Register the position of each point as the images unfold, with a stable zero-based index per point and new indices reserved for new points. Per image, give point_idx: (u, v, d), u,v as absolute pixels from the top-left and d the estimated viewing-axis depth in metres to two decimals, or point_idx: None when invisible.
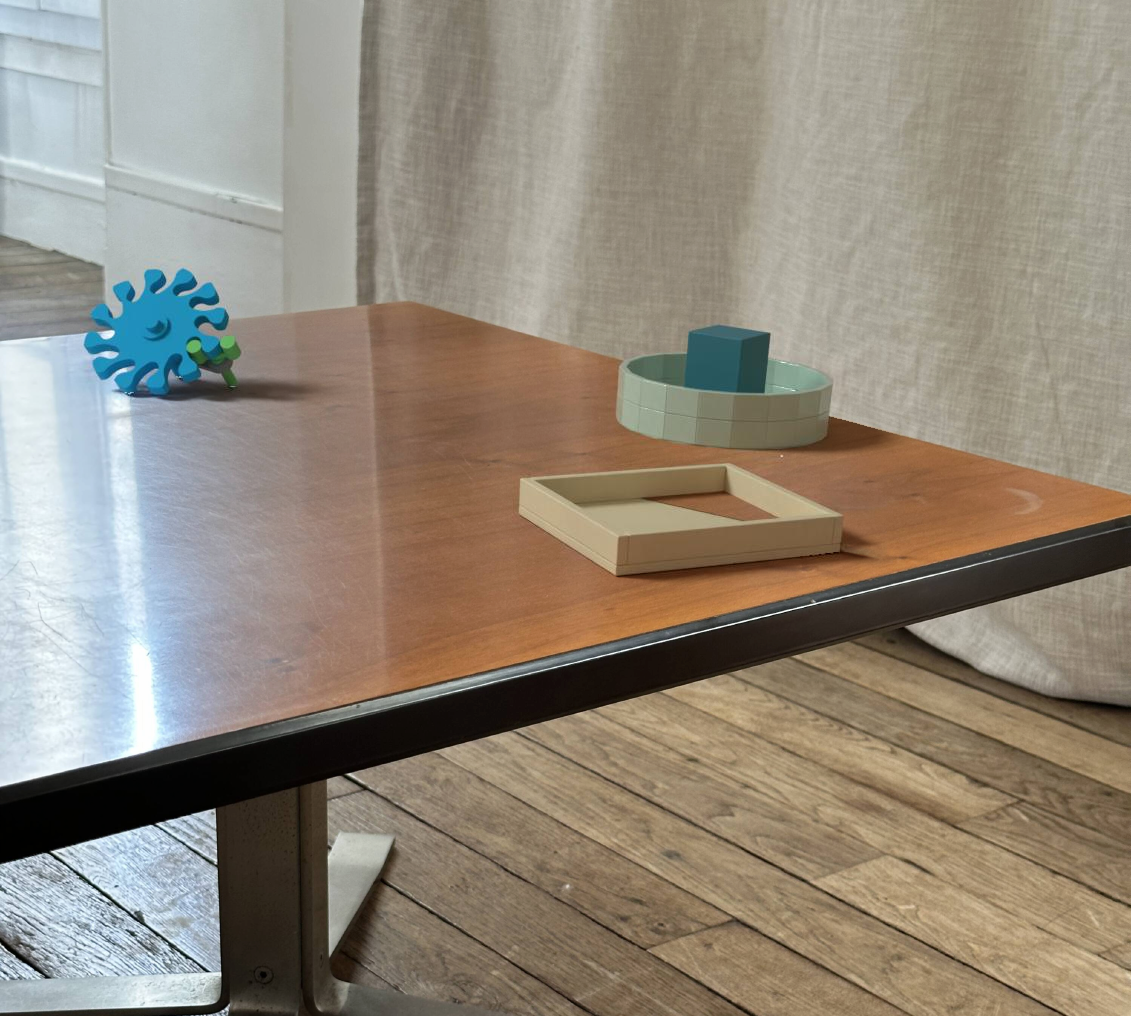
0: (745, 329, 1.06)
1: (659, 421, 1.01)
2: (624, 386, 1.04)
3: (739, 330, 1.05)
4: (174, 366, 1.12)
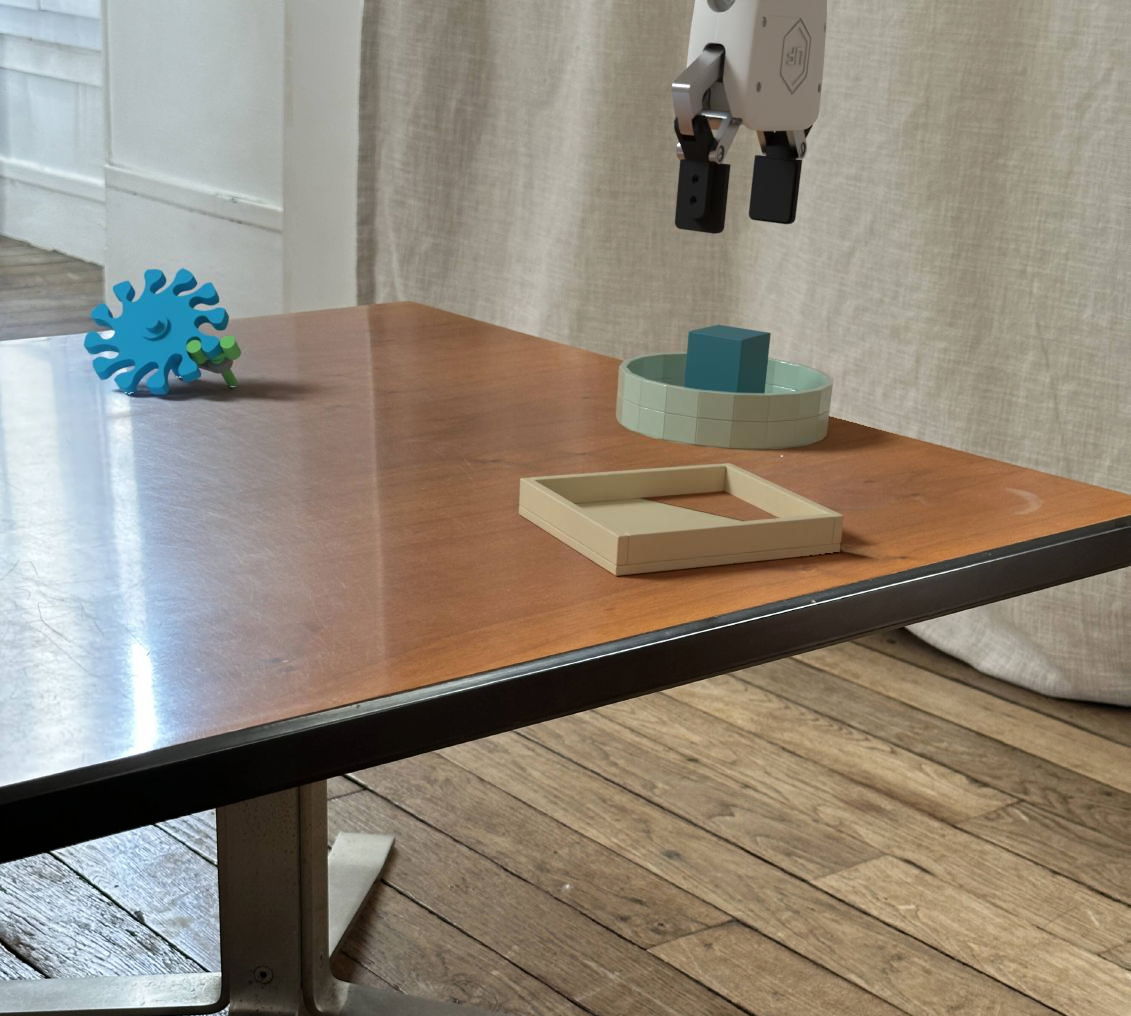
0: (745, 329, 1.06)
1: (659, 421, 1.01)
2: (624, 386, 1.04)
3: (739, 330, 1.05)
4: (174, 366, 1.12)
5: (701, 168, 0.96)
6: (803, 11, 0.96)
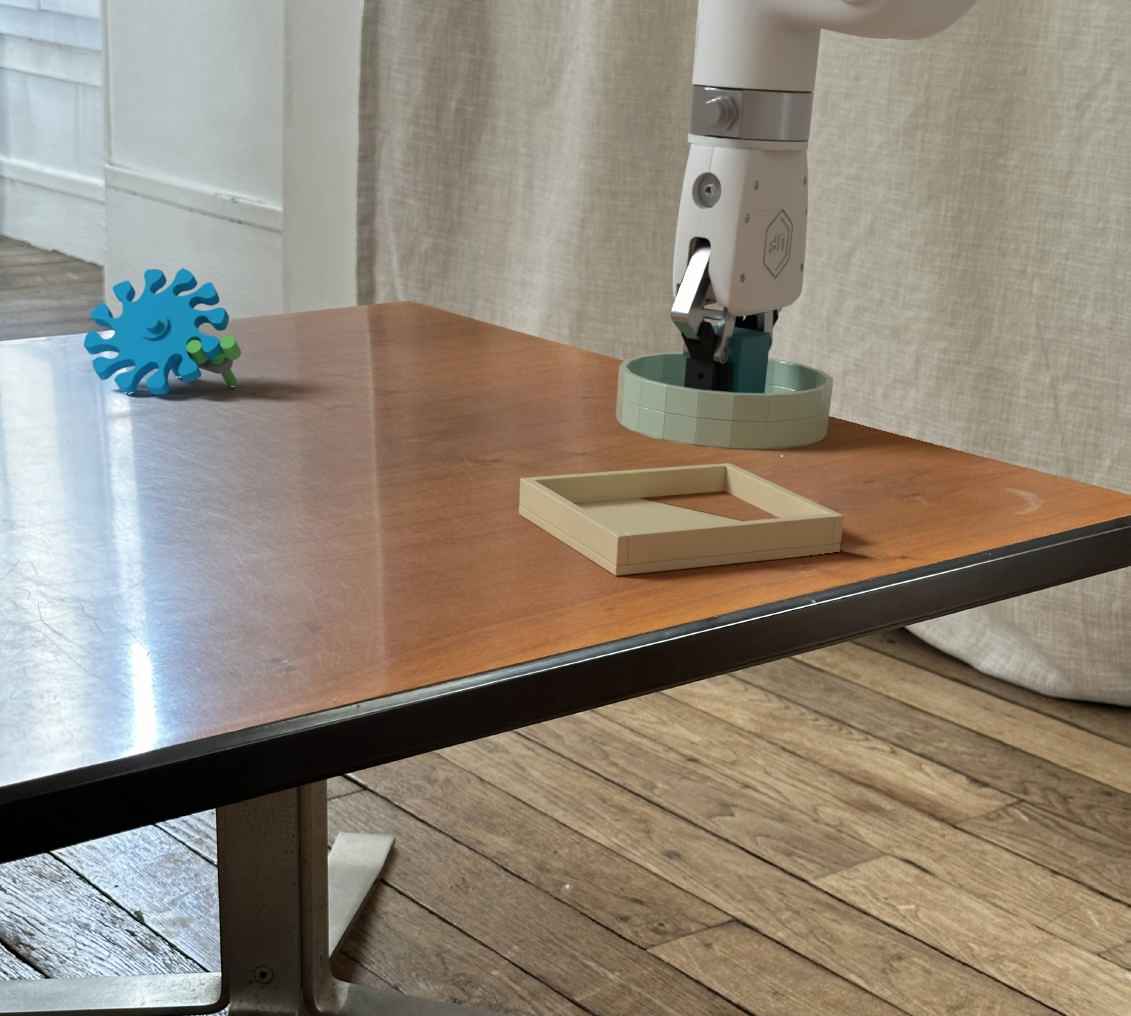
0: (745, 329, 1.06)
1: (659, 421, 1.01)
2: (624, 386, 1.04)
3: (739, 330, 1.05)
4: (174, 366, 1.12)
5: (706, 367, 1.02)
6: (785, 202, 1.00)
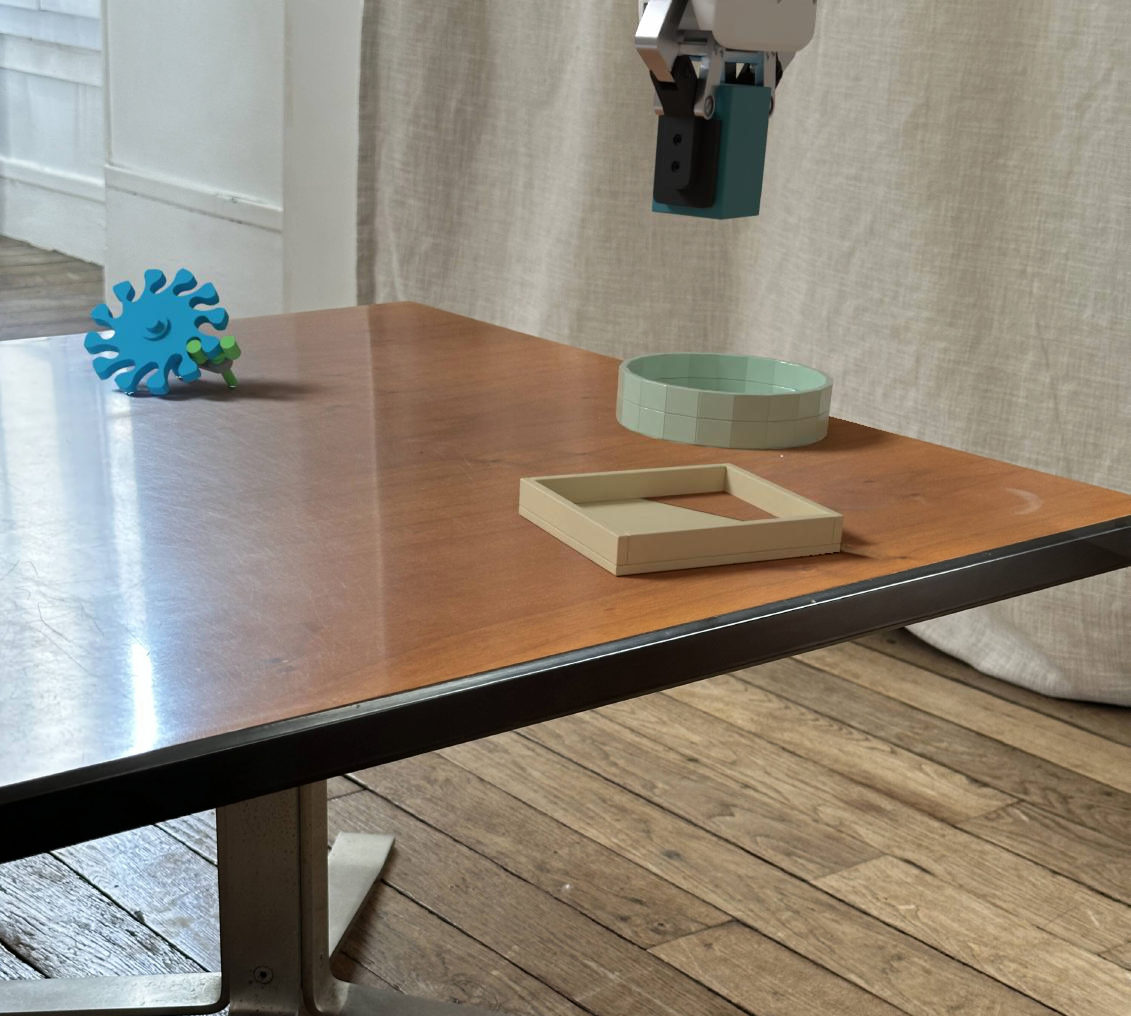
0: None
1: (659, 421, 1.01)
2: (624, 386, 1.04)
3: (729, 84, 0.78)
4: (174, 366, 1.12)
5: (684, 125, 0.76)
6: None
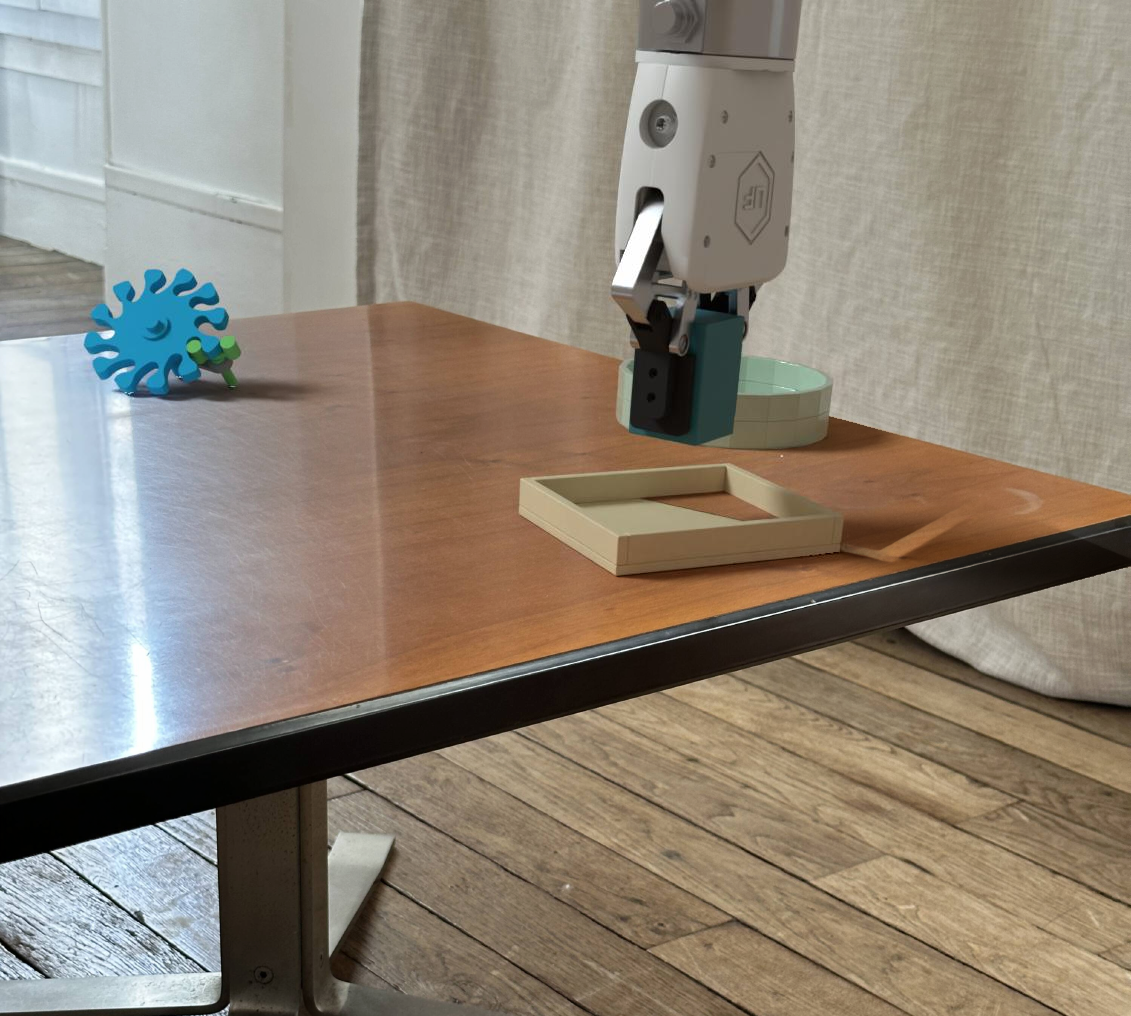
0: (712, 311, 0.81)
1: None
2: (624, 386, 1.04)
3: (704, 313, 0.81)
4: (174, 367, 1.12)
5: (660, 361, 0.78)
6: (764, 142, 0.76)
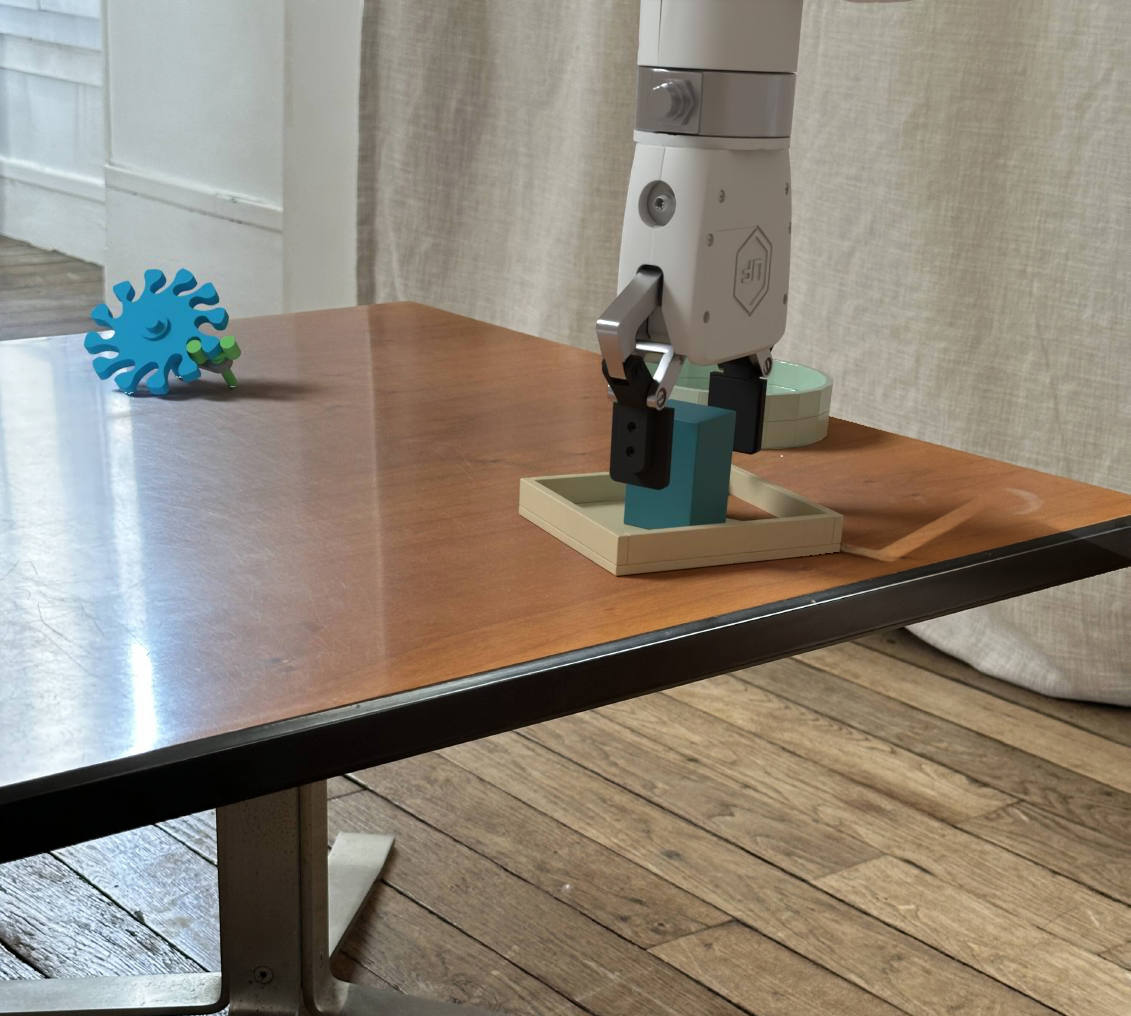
0: (704, 406, 0.83)
1: None
2: None
3: (696, 407, 0.83)
4: (174, 366, 1.12)
5: (638, 415, 0.77)
6: (761, 217, 0.77)
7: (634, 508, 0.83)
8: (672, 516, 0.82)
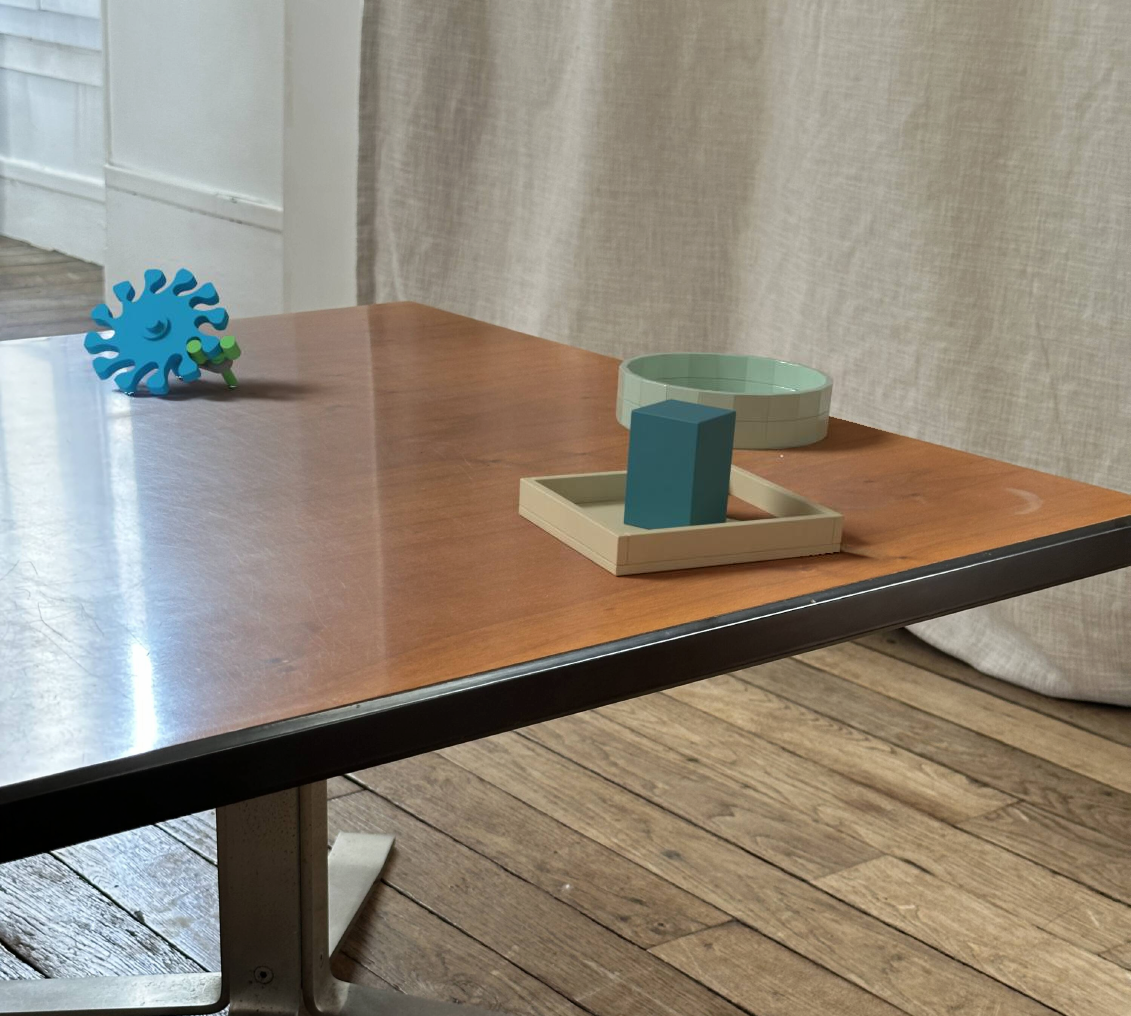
0: (704, 406, 0.83)
1: None
2: (624, 386, 1.04)
3: (696, 407, 0.83)
4: (174, 366, 1.12)
5: None
6: None
7: (634, 508, 0.83)
8: (672, 516, 0.82)
